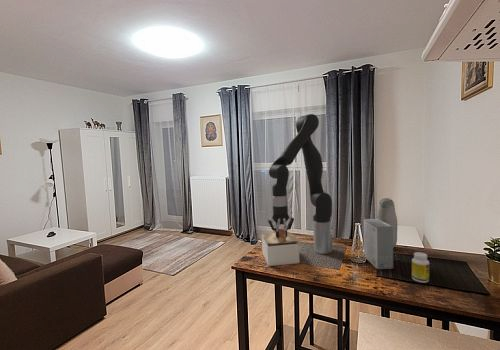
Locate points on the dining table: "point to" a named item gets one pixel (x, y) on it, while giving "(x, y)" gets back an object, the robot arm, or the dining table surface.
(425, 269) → the pill bottle
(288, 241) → the flap
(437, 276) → the dining table surface
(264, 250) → the carton
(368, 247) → the hard drive box
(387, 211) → the grey bottle
